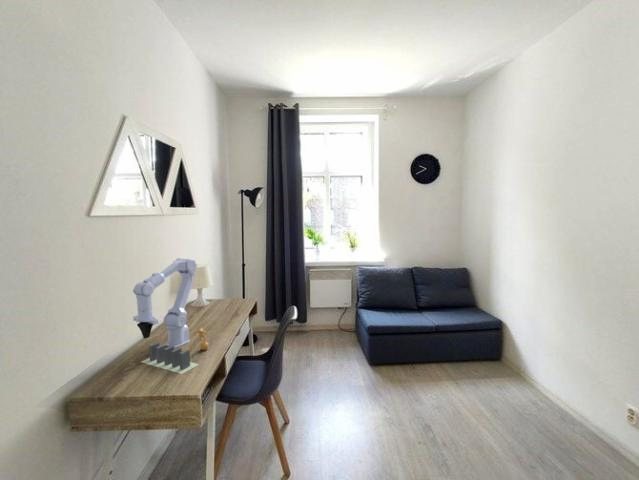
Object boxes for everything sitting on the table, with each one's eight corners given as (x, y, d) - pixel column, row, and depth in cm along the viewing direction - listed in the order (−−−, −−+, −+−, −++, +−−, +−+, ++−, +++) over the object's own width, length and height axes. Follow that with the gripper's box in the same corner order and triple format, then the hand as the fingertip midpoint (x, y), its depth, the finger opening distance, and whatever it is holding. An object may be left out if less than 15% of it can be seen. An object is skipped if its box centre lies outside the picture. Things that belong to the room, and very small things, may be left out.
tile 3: (164, 364, 135) (163, 349, 135) (171, 360, 139) (171, 345, 138) (167, 365, 135) (166, 349, 134) (174, 361, 138) (173, 346, 137)
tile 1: (149, 360, 140) (149, 345, 139) (157, 357, 143) (156, 342, 142) (152, 361, 139) (151, 346, 138) (160, 357, 142) (159, 342, 142)
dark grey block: (172, 366, 133) (171, 351, 133) (179, 362, 137) (178, 347, 136) (174, 367, 133) (174, 351, 132) (182, 363, 136) (181, 348, 135)
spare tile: (156, 362, 137) (156, 347, 137) (164, 359, 141) (163, 344, 140) (159, 363, 137) (158, 348, 136) (167, 359, 140) (166, 344, 139)
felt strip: (158, 354, 146) (158, 353, 146) (198, 364, 135) (198, 364, 135) (140, 362, 138) (140, 361, 138) (181, 374, 127) (181, 373, 127)
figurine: (214, 348, 152) (213, 324, 151) (208, 353, 146) (207, 329, 145) (198, 347, 153) (197, 324, 152) (192, 353, 147) (190, 328, 146)
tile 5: (179, 369, 131) (179, 353, 131) (187, 365, 135) (186, 349, 134) (182, 369, 130) (182, 353, 130) (190, 365, 134) (189, 350, 133)
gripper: (126, 309, 141) (128, 338, 142) (147, 313, 134) (148, 343, 136) (140, 305, 147) (142, 332, 148) (161, 308, 141) (163, 337, 142)
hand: (146, 337), depth 142 cm, fingers closed
